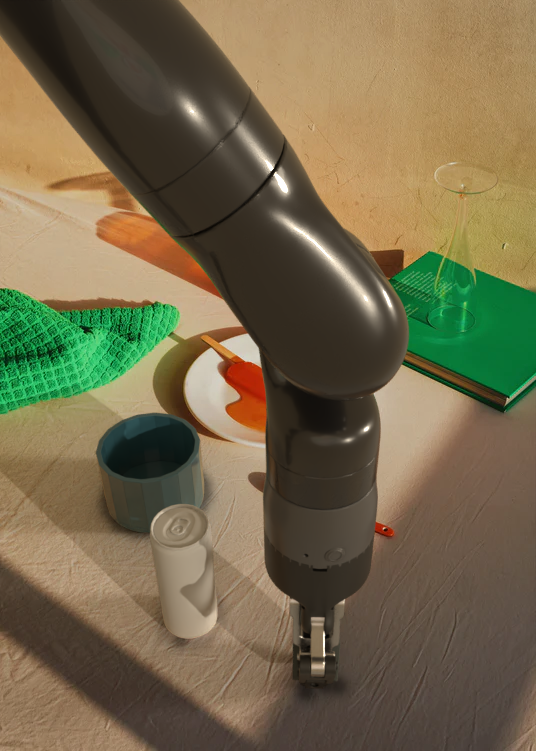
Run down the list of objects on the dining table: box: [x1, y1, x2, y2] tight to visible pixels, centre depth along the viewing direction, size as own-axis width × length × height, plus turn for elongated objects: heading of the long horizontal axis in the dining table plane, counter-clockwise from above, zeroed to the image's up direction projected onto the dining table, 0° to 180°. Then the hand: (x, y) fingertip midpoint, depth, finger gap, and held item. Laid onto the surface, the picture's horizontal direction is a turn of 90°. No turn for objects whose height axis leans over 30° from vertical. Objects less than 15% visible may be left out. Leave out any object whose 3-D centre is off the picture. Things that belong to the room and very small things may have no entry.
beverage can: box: [149, 504, 219, 640], centre depth 61 cm, size 5×5×12 cm
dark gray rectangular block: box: [291, 611, 341, 682], centre depth 58 cm, size 3×4×5 cm
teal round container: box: [95, 412, 205, 534], centre depth 74 cm, size 10×10×7 cm
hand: (313, 661), depth 60 cm, fingers closed on dark gray rectangular block, 3 cm apart
